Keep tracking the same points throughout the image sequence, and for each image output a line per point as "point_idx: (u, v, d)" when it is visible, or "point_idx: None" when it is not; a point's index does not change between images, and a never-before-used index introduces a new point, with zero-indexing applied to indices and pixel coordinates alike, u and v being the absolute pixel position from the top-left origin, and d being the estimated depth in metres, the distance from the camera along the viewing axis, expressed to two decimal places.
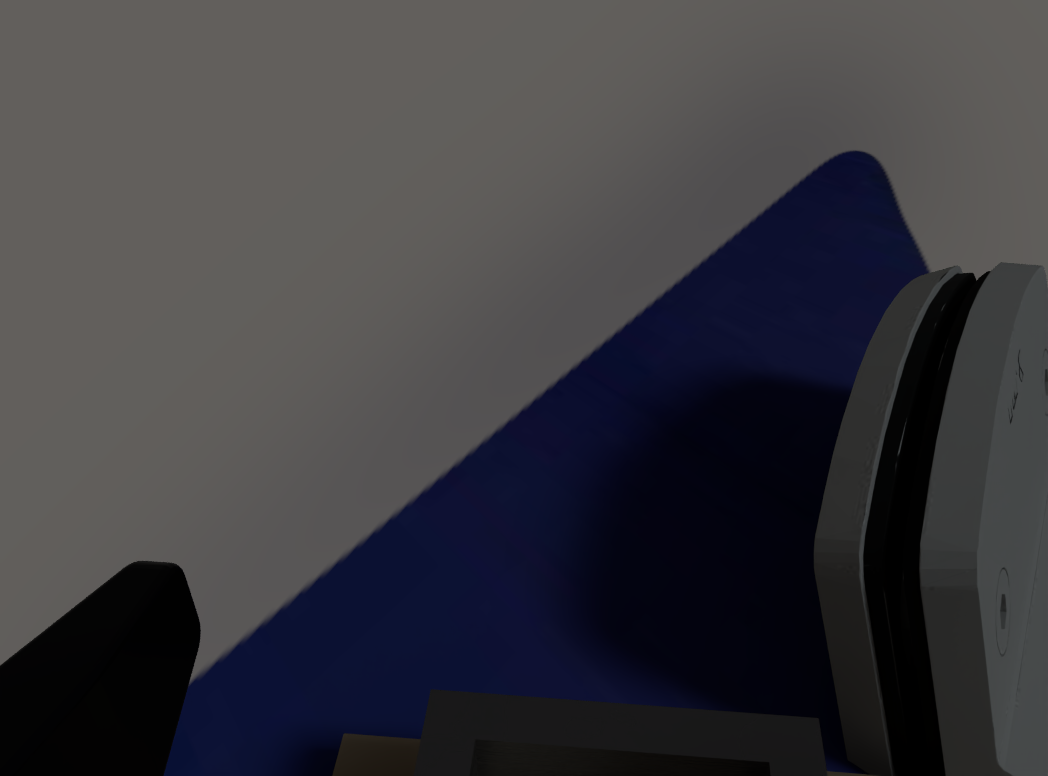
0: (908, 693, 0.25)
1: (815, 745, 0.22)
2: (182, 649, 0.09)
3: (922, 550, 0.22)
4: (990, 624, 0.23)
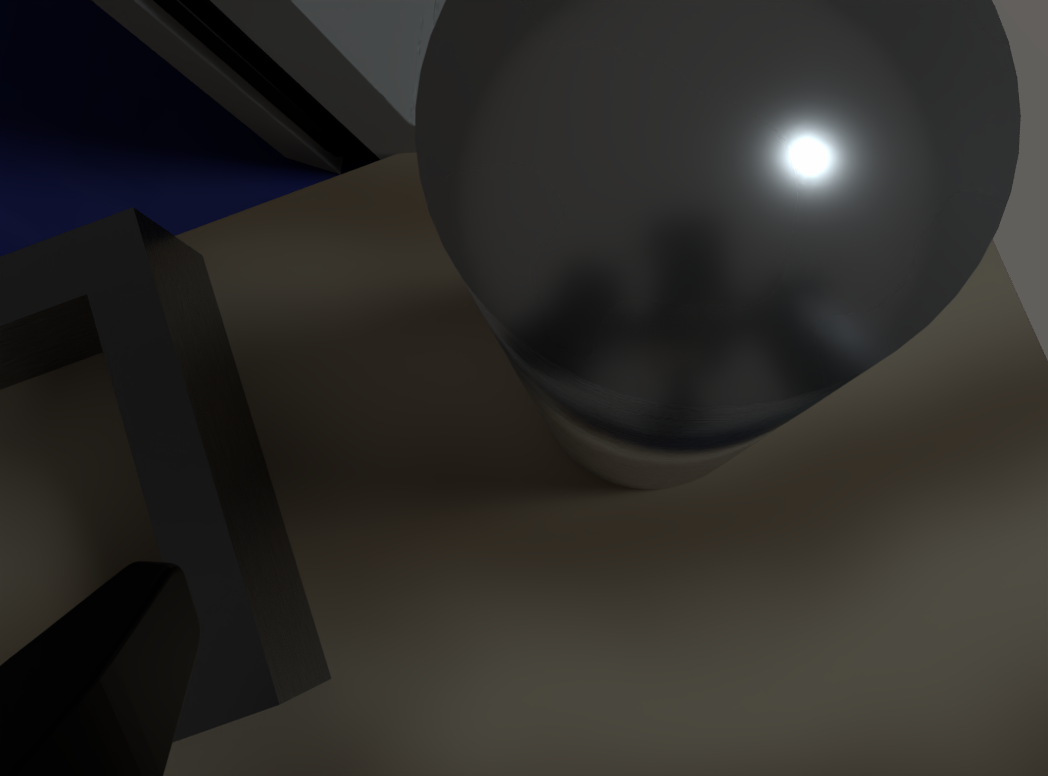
0: None
1: (134, 247, 0.17)
2: (182, 649, 0.09)
3: None
4: None
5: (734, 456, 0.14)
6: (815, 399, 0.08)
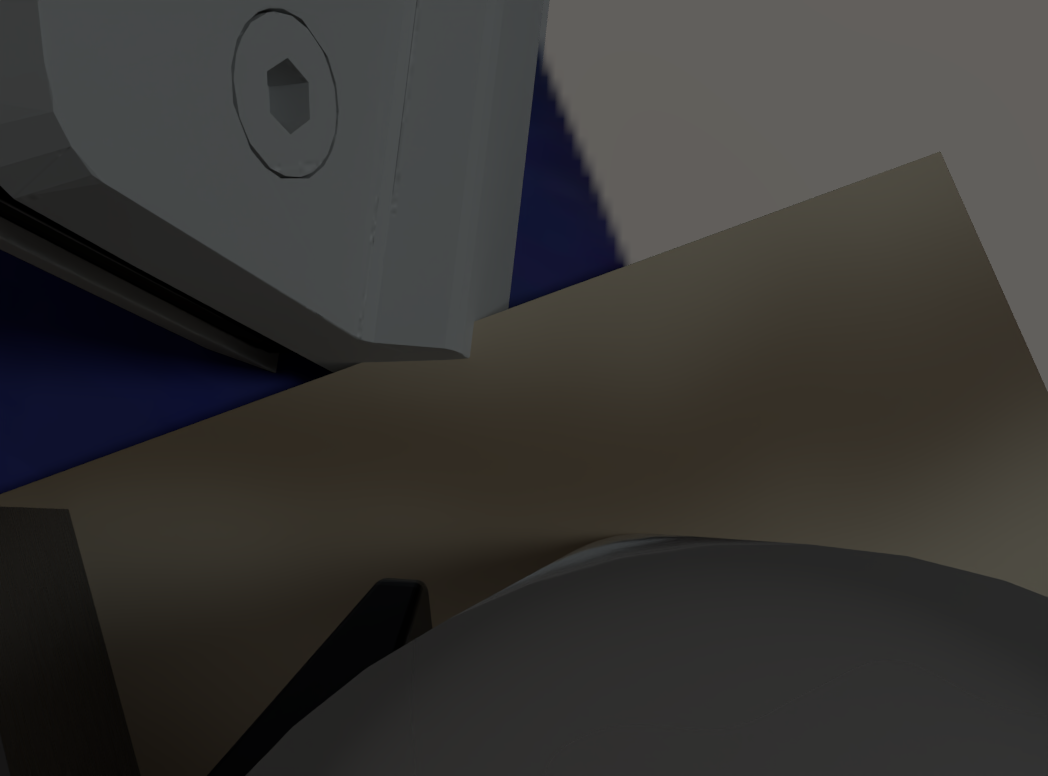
0: None
1: None
2: None
3: None
4: (219, 178, 0.12)
5: None
6: None
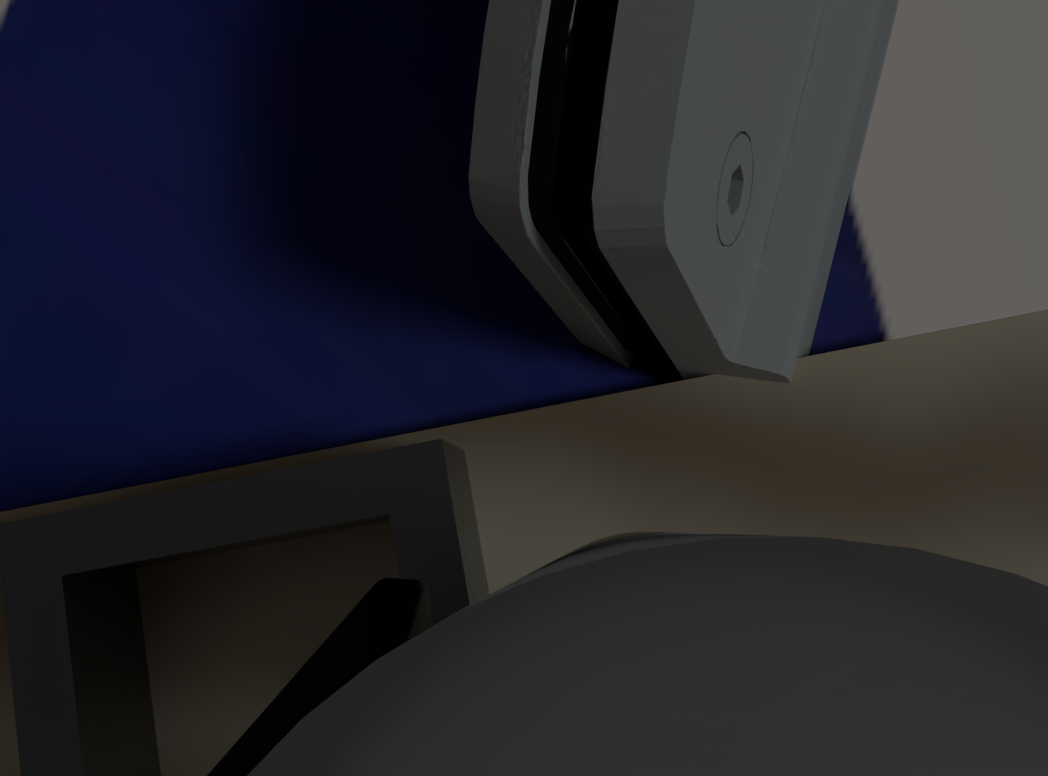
0: None
1: (439, 477, 0.19)
2: None
3: (594, 207, 0.16)
4: (703, 246, 0.18)
5: None
6: None
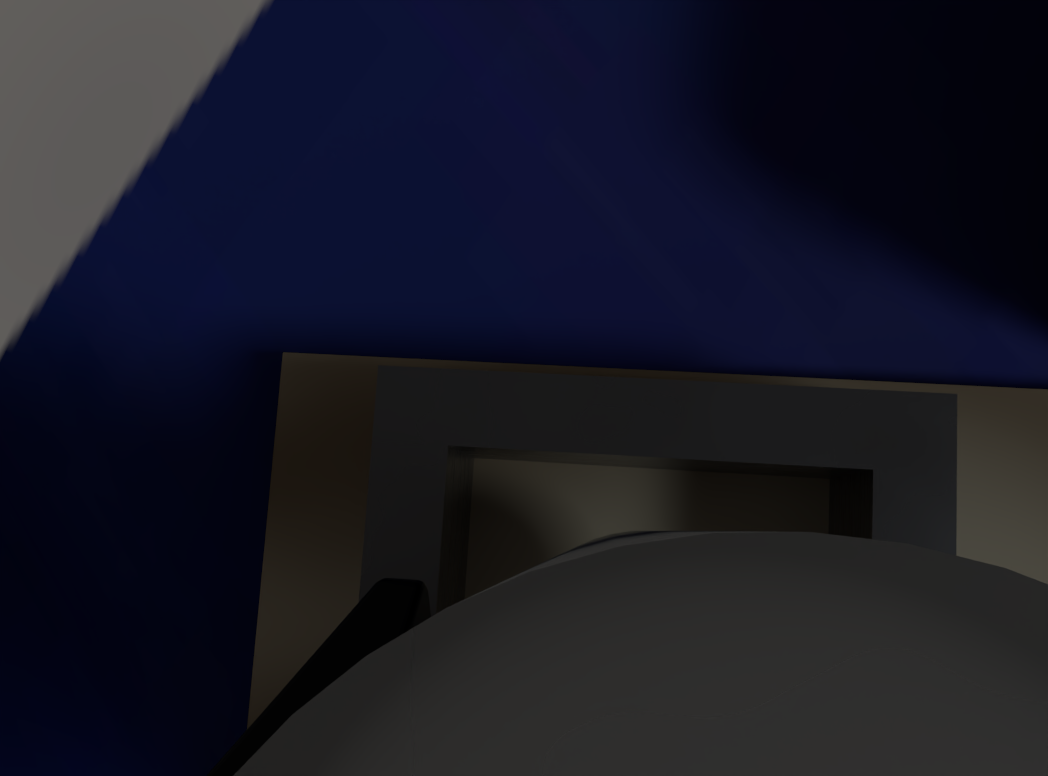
0: None
1: (945, 440, 0.15)
2: None
3: None
4: None
5: None
6: None
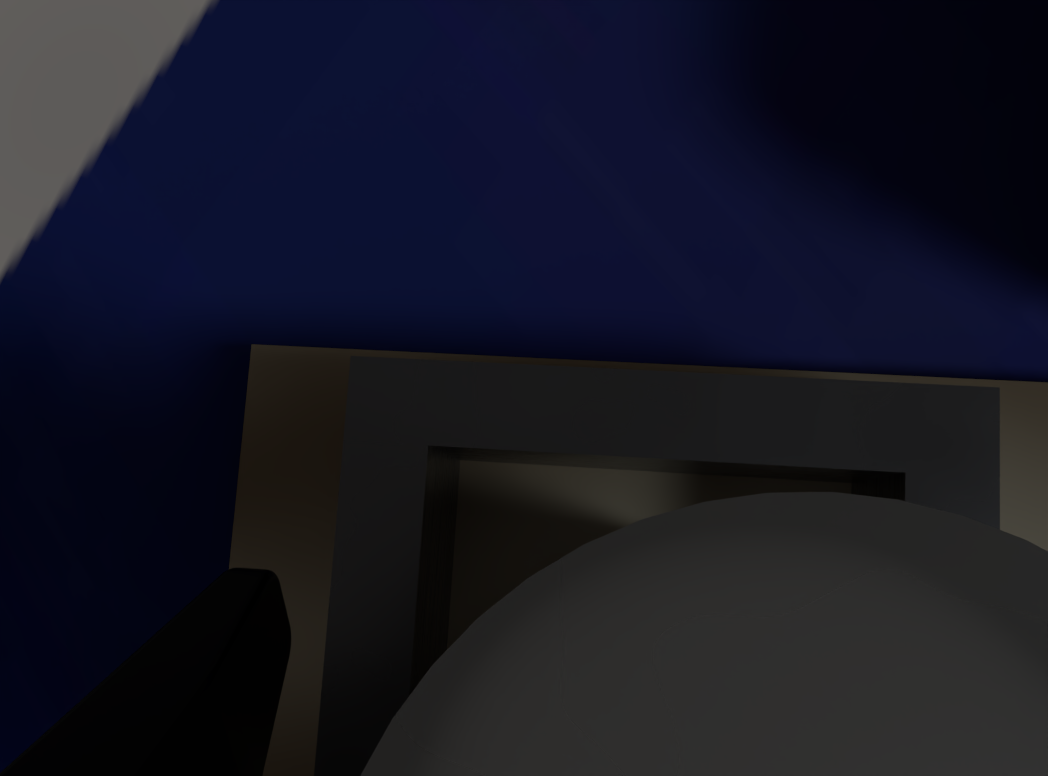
0: None
1: (987, 439, 0.13)
2: (277, 656, 0.09)
3: None
4: None
5: None
6: None
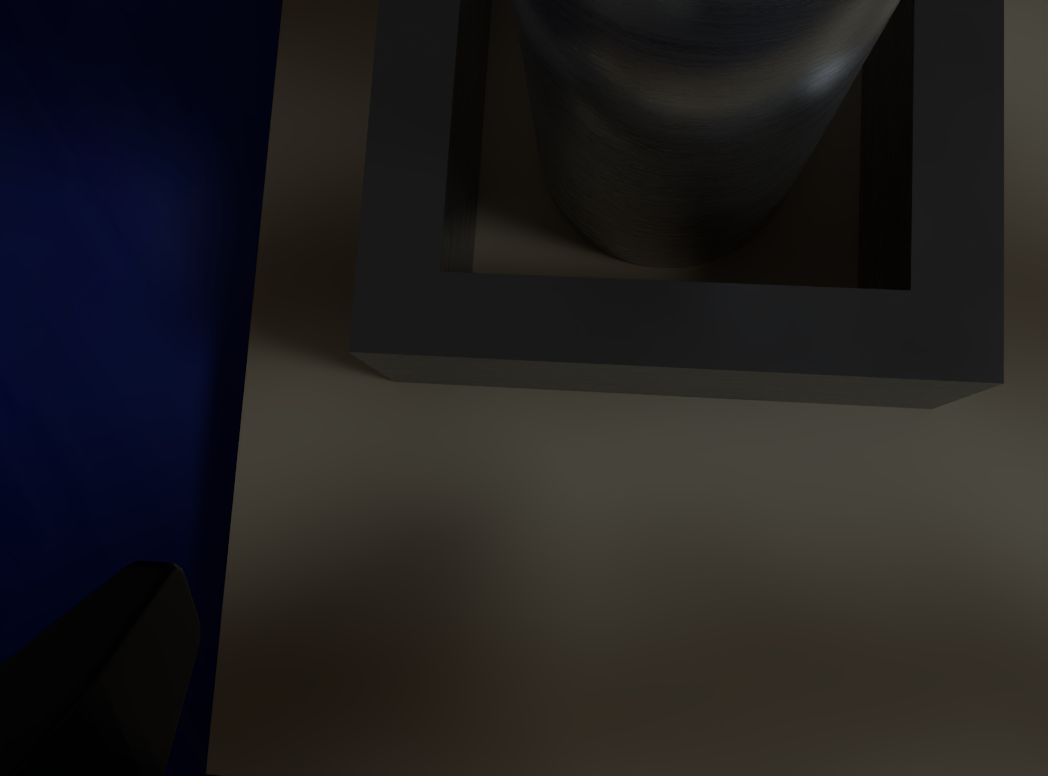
0: None
1: None
2: (182, 649, 0.09)
3: None
4: None
5: (779, 156, 0.12)
6: None
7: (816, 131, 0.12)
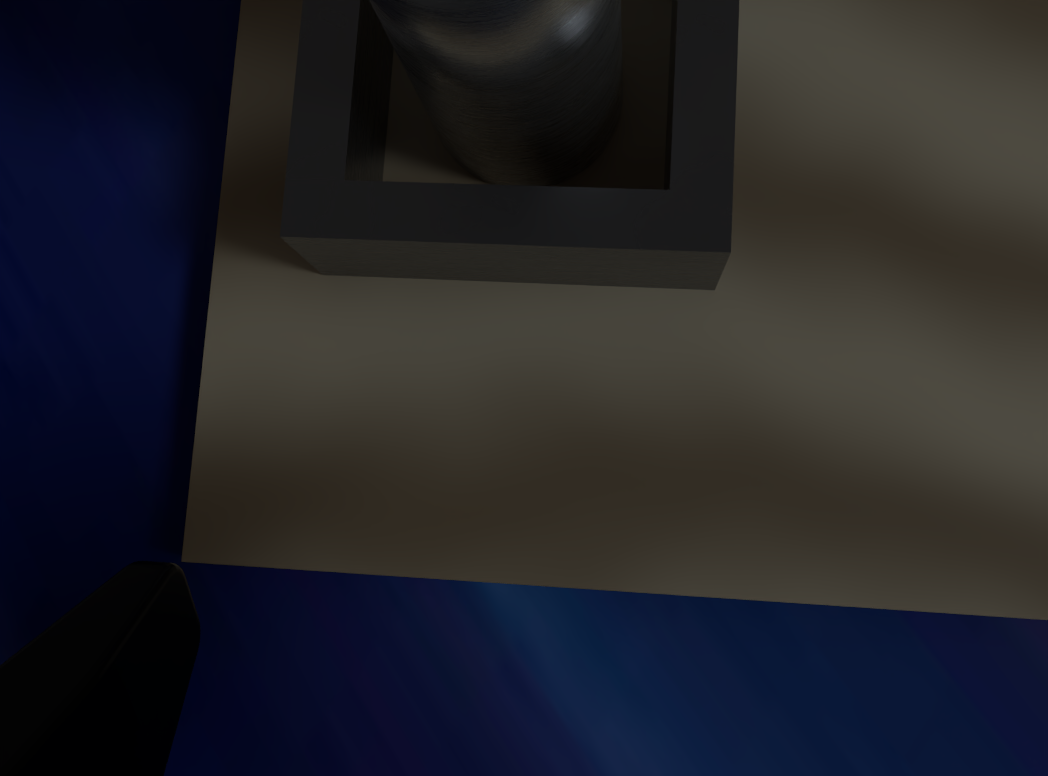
0: None
1: None
2: (182, 649, 0.09)
3: None
4: None
5: (559, 91, 0.18)
6: None
7: (585, 74, 0.18)
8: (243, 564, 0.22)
